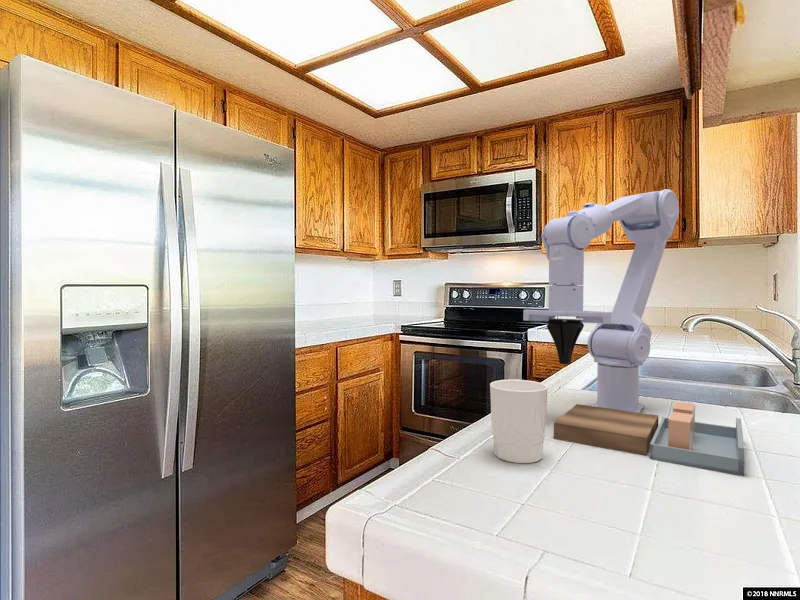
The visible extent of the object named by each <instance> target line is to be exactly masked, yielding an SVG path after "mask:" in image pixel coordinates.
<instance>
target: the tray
mask: <svg viewBox="0 0 800 600" xmlns="http://www.w3.org/2000/svg"><path fill="white" fill-rule="evenodd" d="M669 418H670V417H661V420H660V421H659V423H658V428H657V430H656V432H655V434H654V436H653V439H652V441H651V443H650V449H649V459H650V460H657V461H662V462H667V463H673V464H678V465H684V466H688V467H692V468H693V467H694V468H699V469H704V470H709V471H714V472H715V471H716V472H720V473H726V474H732V475H735V476H736V475H737V476H741V477H744V476H745V443H744V442H745V441H744V433H743V432H744V431H743V425H742V418H740V417H735V427H734V426H727V425H721V424H720V425H719V424H714V423H713V424H712V423H706V422H705V423H704V422H701V421H700V422H697V421H695V436H694V440H693V450H687V449H681V448H675V447H669V446H668V427H669Z"/></svg>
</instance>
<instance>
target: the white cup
mask: <svg viewBox="0 0 800 600" xmlns="http://www.w3.org/2000/svg"><path fill="white" fill-rule="evenodd" d="M548 387H549V386H548V385H546V384H545V383H542V382H538V381H533V380H529V379H528V380H525V379H500V380H495V381H492V382H490V383H489V389H490V390H489V393H490V394H489V395H490V417H491V418H490V419H491V420H490V421H491V429H492V436H493V437H492V438H493V439H492V440H493V454H494V455H495V457H497V458H498V459H501V460H503V461H505V462H508V463H509V462H510V463H516V464H531V463H537V462H539V461H540V460H542V459H543V457H544V440H545V437H546V434H545V433H546V420H547V405H548V403H547V402H548Z"/></svg>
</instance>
